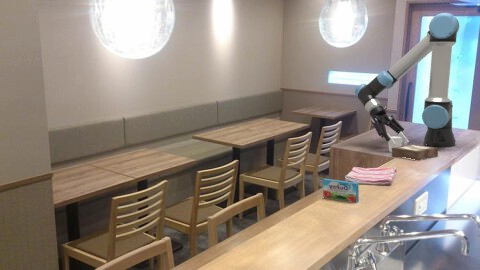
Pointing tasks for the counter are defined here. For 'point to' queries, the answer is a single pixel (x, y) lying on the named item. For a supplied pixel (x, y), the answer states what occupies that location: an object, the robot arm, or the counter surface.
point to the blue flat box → (341, 190)
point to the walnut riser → (415, 152)
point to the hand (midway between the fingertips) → (400, 144)
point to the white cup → (398, 142)
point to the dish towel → (372, 176)
